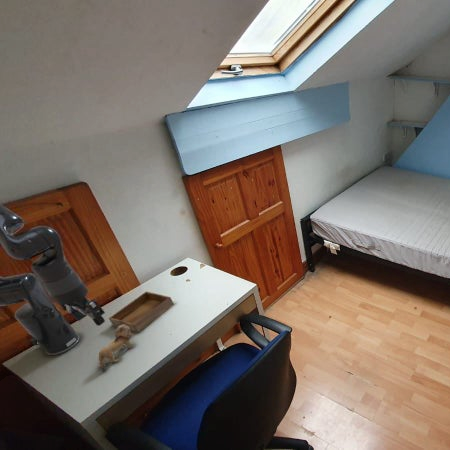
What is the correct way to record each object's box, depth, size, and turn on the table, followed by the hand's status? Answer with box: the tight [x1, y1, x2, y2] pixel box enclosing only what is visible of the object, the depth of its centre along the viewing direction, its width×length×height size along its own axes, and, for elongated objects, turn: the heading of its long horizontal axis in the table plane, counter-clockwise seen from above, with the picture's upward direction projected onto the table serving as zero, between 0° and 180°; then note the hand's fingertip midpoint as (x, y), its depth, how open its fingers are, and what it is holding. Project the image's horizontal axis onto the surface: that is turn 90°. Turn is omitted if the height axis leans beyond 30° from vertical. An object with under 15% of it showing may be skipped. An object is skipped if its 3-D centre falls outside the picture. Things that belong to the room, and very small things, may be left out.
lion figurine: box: [98, 324, 134, 373], centre depth 111 cm, size 15×5×9 cm, turn 1°
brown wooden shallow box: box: [108, 290, 175, 334], centre depth 129 cm, size 13×16×4 cm
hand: (91, 321), depth 103 cm, fingers open, 8 cm apart
